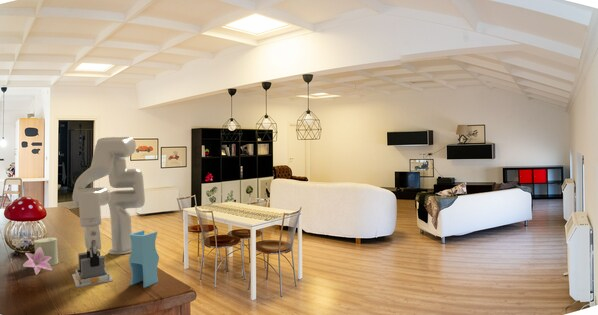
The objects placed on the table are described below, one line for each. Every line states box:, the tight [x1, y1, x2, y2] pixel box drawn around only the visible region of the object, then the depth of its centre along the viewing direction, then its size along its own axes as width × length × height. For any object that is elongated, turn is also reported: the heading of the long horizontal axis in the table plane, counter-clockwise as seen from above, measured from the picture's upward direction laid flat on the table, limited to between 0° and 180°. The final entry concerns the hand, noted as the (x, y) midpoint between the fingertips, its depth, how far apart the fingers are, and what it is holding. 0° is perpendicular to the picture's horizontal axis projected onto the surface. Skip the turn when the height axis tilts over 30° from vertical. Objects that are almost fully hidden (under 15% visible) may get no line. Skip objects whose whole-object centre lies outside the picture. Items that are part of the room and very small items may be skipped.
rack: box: [71, 249, 114, 289], centre depth 169 cm, size 13×18×10 cm
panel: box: [81, 255, 105, 279], centre depth 165 cm, size 8×3×9 cm, turn 124°
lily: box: [22, 247, 53, 276], centre depth 180 cm, size 12×12×10 cm
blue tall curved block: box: [128, 230, 160, 289], centre depth 161 cm, size 8×8×20 cm
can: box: [33, 237, 59, 267], centre depth 191 cm, size 9×9×12 cm
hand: (93, 263), depth 165 cm, fingers open, 9 cm apart
